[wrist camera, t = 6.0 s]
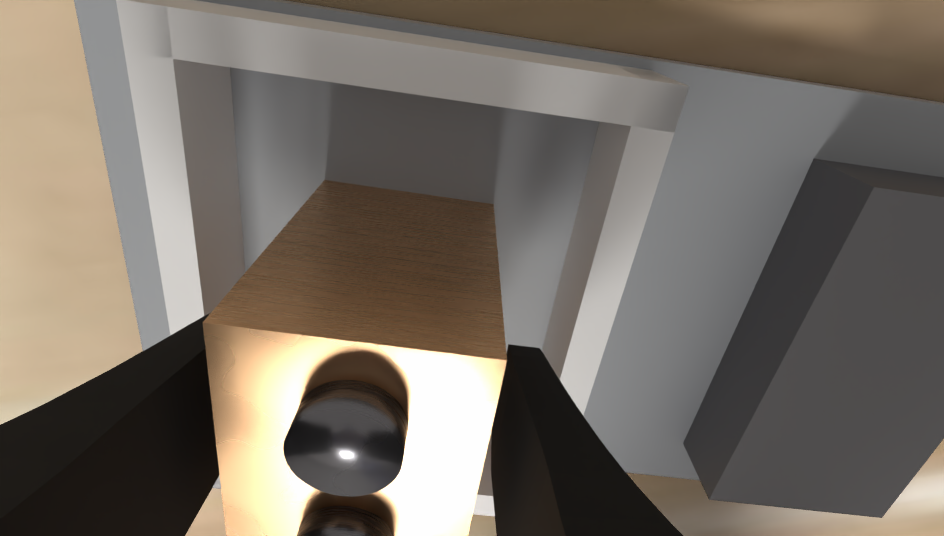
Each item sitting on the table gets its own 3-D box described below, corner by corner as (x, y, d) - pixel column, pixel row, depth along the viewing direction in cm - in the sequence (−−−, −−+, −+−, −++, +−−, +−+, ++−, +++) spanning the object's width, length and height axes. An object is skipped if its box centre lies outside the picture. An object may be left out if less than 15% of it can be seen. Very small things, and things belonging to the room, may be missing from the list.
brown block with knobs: (493, 204, 12) (509, 390, 6) (461, 383, 15) (452, 634, 9) (324, 179, 12) (178, 350, 6) (321, 366, 14) (215, 613, 9)
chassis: (1058, 120, 12) (1234, 157, 9) (826, 471, 18) (893, 561, 15) (101, -29, 11) (-31, -38, 8) (174, 399, 16) (111, 482, 14)
